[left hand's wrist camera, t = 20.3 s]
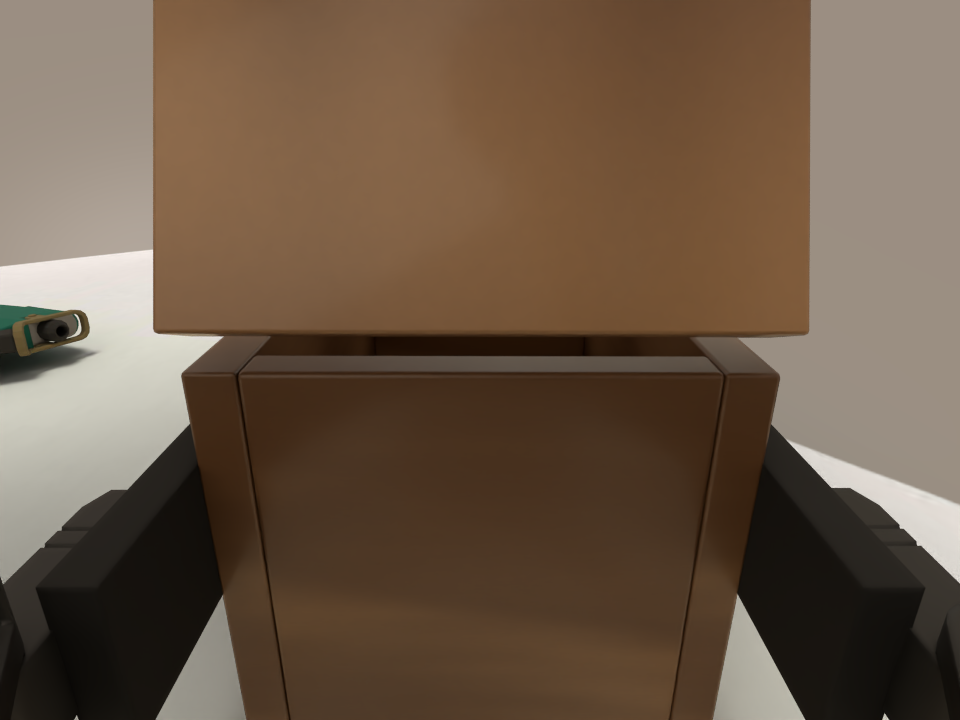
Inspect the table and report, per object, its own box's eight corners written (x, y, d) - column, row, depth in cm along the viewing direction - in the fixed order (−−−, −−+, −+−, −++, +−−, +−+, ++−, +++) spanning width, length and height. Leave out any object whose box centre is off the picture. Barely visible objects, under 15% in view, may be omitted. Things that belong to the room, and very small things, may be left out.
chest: (365, 476, 25) (347, 228, 22) (592, 476, 25) (613, 229, 22) (261, 806, 13) (178, 373, 10) (697, 807, 13) (782, 374, 10)
